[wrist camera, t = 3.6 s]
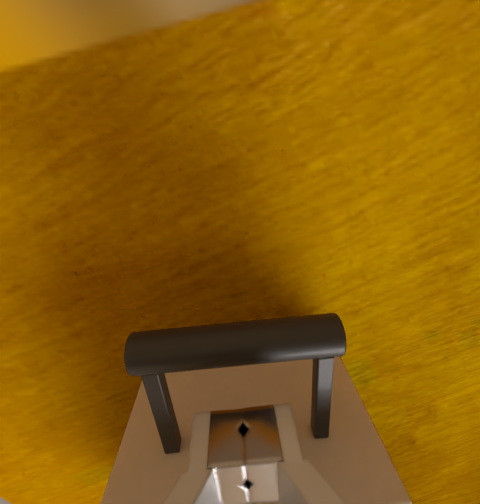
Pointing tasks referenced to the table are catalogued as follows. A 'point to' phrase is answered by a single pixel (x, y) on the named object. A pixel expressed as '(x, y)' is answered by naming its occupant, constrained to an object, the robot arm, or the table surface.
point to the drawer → (249, 403)
